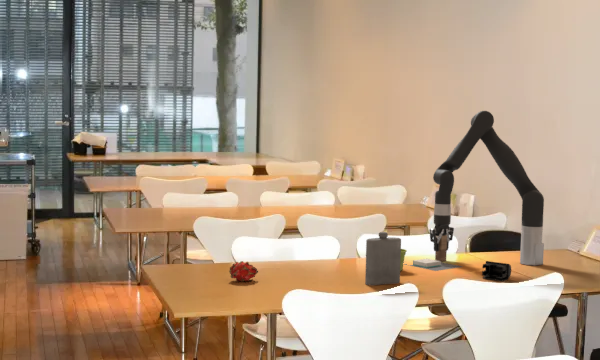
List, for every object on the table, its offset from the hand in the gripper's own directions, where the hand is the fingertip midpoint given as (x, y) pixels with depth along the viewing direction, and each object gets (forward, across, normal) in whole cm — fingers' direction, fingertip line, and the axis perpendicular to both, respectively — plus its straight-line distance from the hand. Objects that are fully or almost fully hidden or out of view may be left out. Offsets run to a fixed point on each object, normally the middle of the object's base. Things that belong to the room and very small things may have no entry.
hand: (441, 250), depth 377 cm
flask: (+5, -57, -21) cm, 61 cm away
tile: (+4, -10, -5) cm, 12 cm away
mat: (+5, -12, -5) cm, 14 cm away
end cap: (+5, -11, -40) cm, 42 cm away
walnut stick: (+5, 0, 0) cm, 5 cm away
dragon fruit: (+5, -100, +12) cm, 101 cm away
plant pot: (+5, -33, -4) cm, 34 cm away
